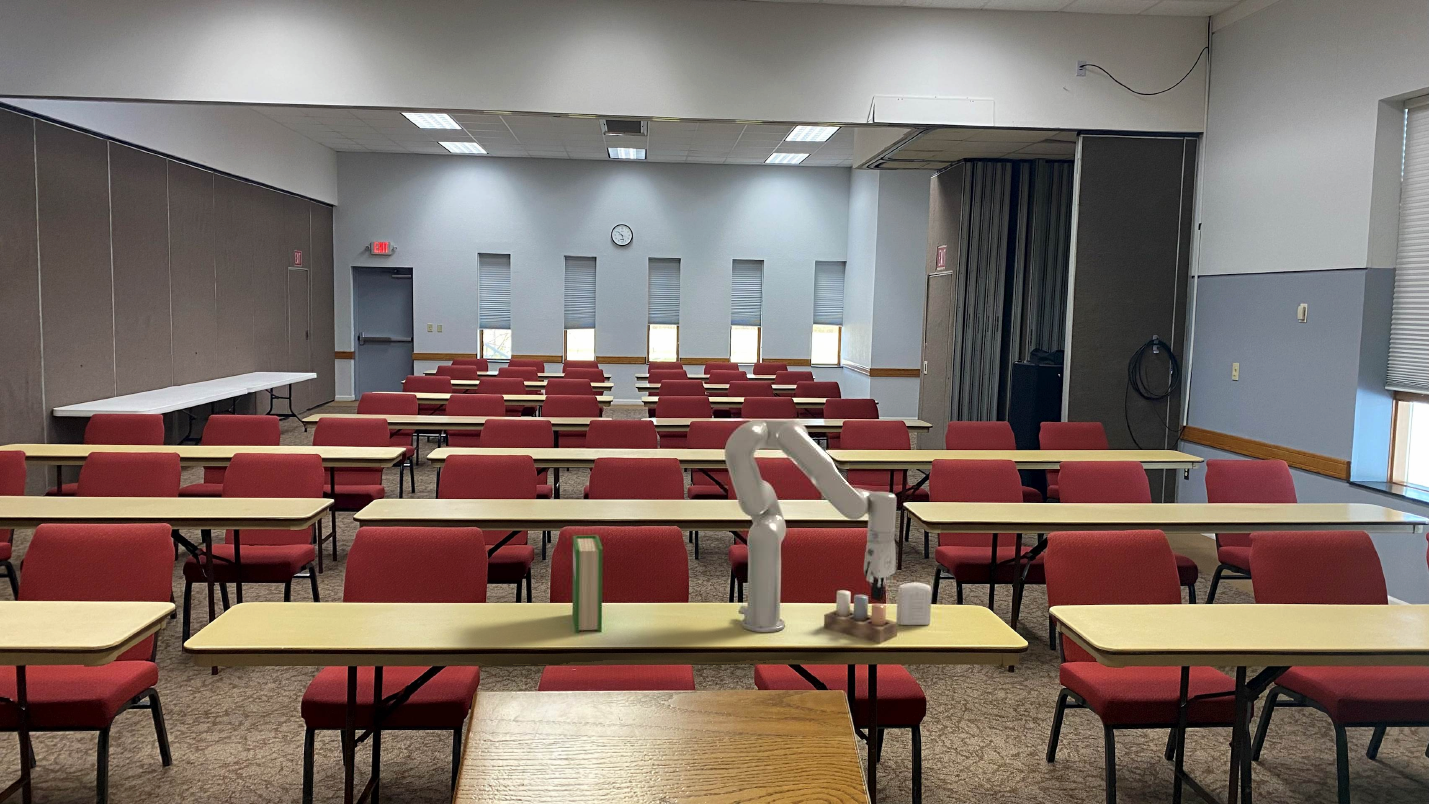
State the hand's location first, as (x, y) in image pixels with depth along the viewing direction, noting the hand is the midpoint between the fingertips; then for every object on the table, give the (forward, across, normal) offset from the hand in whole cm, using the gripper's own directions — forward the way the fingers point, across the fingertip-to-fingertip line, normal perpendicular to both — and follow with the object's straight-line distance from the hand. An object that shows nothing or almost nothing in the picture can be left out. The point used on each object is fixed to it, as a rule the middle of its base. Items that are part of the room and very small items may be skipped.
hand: (876, 599), depth 258 cm
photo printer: (+11, +18, -2) cm, 21 cm away
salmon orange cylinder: (+9, 0, -1) cm, 9 cm away
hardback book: (+13, -51, +66) cm, 84 cm away
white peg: (+8, 0, +11) cm, 14 cm away
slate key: (+8, 0, +5) cm, 9 cm away
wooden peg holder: (+11, 0, +5) cm, 12 cm away
